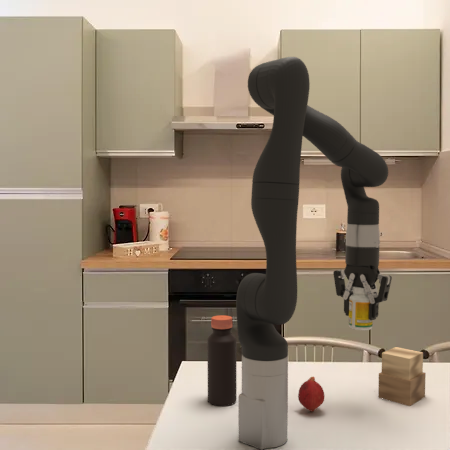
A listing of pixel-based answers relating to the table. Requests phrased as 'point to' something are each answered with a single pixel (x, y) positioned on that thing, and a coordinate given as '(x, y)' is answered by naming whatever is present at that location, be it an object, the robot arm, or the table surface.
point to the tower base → (402, 389)
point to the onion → (311, 394)
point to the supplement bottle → (359, 310)
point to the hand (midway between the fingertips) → (360, 317)
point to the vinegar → (221, 362)
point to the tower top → (402, 363)
